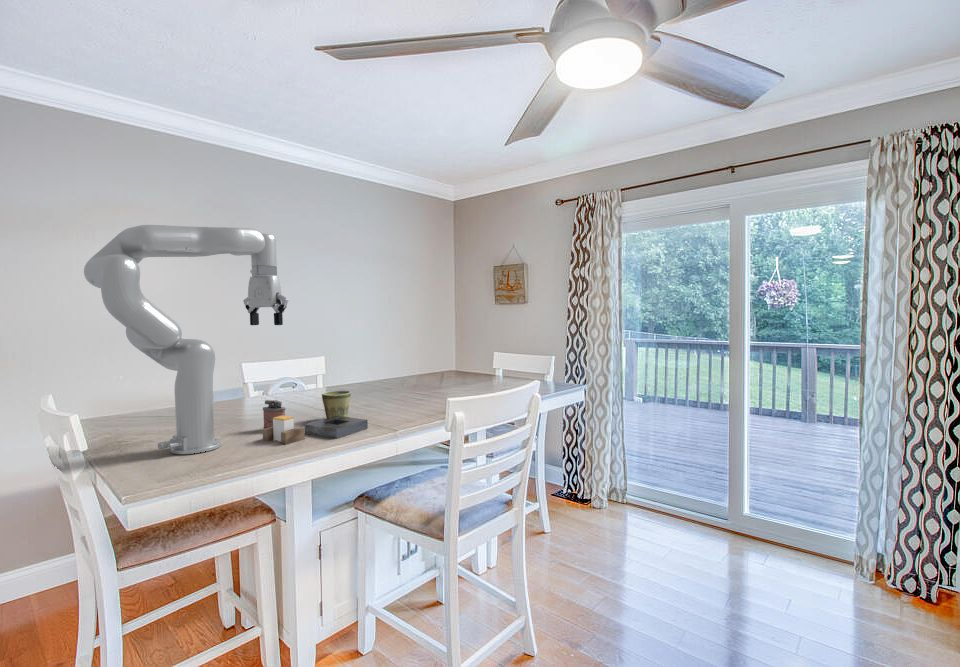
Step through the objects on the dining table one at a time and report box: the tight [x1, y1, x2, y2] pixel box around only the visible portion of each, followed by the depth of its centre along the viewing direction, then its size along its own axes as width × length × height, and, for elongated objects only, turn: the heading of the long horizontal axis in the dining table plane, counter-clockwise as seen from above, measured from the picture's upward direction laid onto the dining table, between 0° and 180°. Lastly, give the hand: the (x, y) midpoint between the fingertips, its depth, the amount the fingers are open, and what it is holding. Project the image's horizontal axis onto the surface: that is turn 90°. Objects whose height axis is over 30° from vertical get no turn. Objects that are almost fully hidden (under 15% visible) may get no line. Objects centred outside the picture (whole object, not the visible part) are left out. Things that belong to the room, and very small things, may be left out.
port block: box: [303, 416, 369, 440], centre depth 157 cm, size 14×14×3 cm
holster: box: [262, 426, 305, 445], centre depth 148 cm, size 7×10×4 cm
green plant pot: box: [321, 390, 352, 419], centre depth 174 cm, size 13×10×10 cm
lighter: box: [262, 399, 286, 430], centre depth 160 cm, size 8×3×10 cm, turn 74°
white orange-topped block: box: [273, 415, 295, 442], centre depth 148 cm, size 4×5×7 cm
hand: (266, 325), depth 157 cm, fingers open, 9 cm apart
